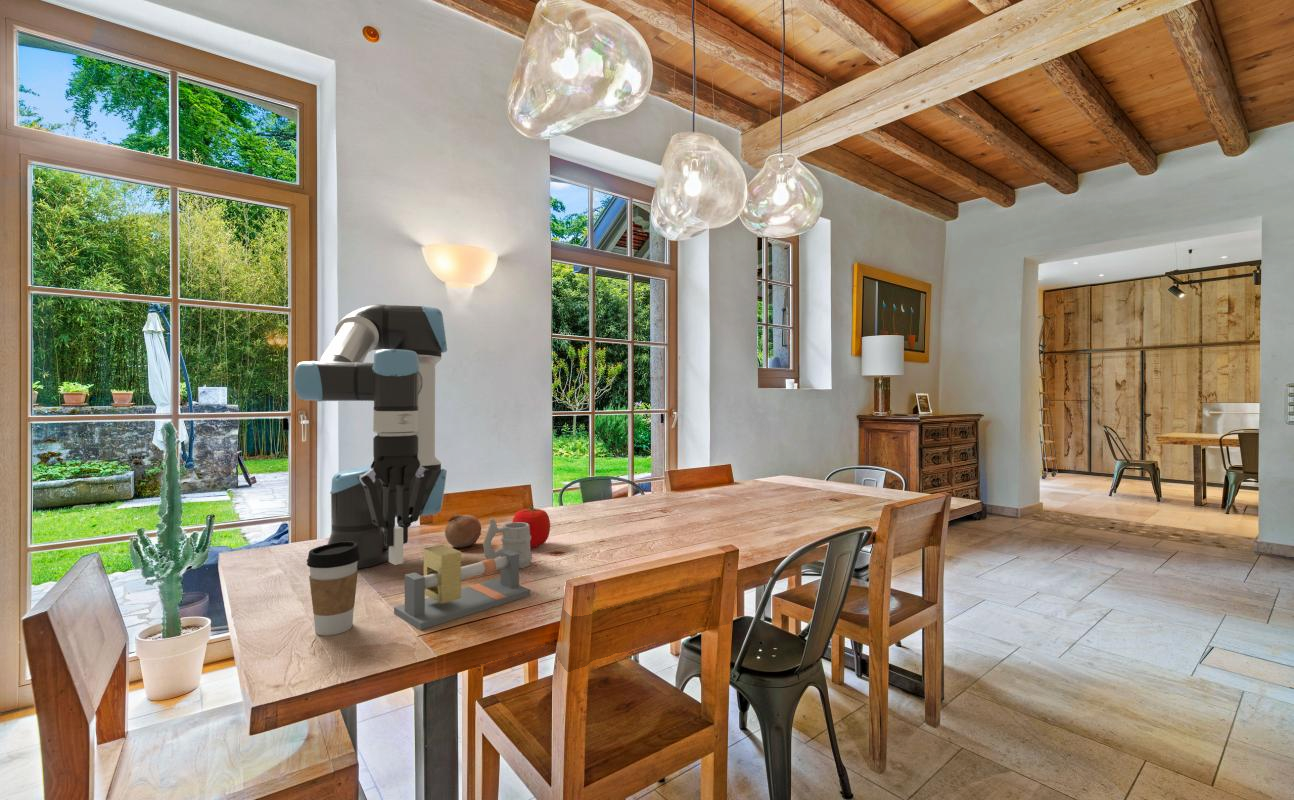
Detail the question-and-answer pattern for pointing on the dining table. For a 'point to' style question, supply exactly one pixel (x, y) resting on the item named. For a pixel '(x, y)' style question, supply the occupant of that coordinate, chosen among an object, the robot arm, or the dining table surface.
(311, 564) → the coffee cup
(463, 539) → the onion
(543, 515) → the red round fruit
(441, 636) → the dining table surface
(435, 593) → the collar
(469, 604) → the rail
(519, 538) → the mug
